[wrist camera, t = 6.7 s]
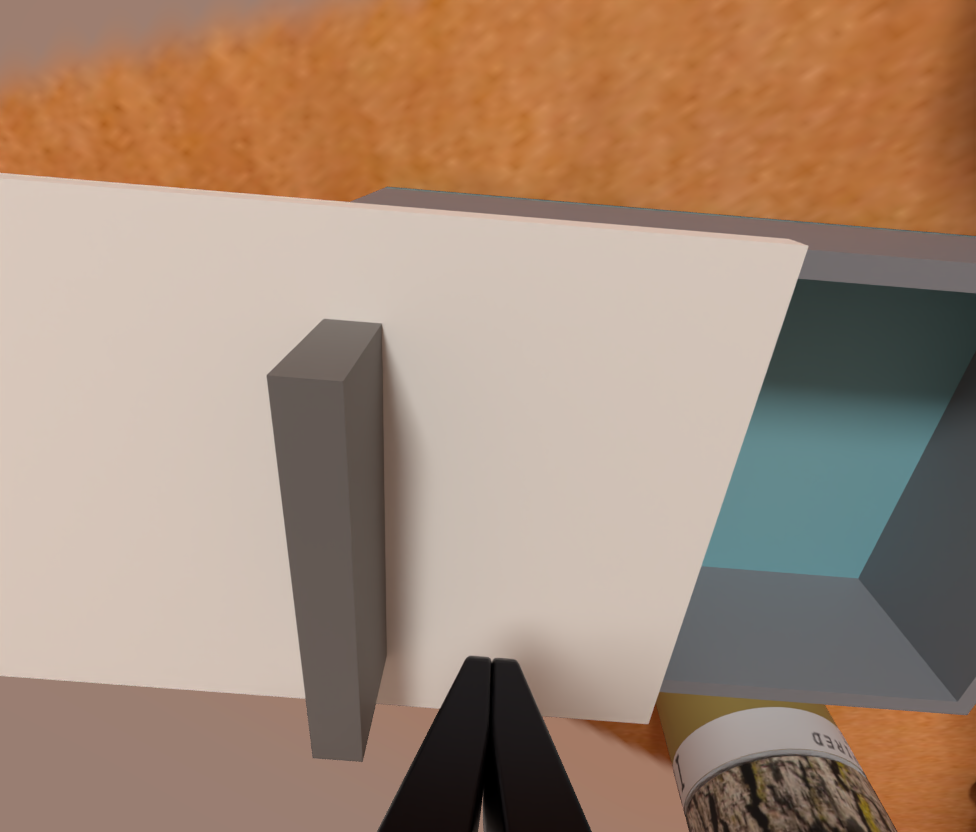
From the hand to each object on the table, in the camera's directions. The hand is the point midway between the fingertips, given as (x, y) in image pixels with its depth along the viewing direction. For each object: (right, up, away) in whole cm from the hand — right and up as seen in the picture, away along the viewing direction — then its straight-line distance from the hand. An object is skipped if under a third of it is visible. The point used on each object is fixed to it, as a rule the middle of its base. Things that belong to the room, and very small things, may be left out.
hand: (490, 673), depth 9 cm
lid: (-5, +2, +5) cm, 7 cm away
